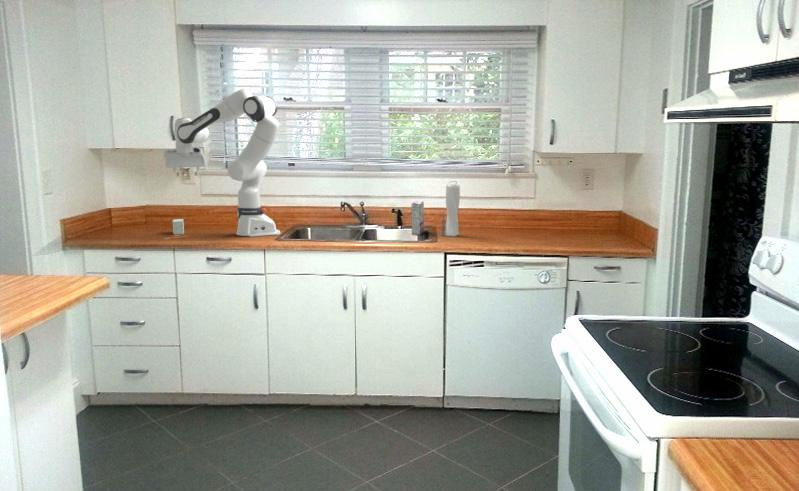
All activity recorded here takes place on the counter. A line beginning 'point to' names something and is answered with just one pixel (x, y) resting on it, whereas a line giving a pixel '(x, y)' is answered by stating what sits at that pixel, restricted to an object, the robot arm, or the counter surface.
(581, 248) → the counter surface
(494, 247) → the counter surface
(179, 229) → the sage block
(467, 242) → the counter surface
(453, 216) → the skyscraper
